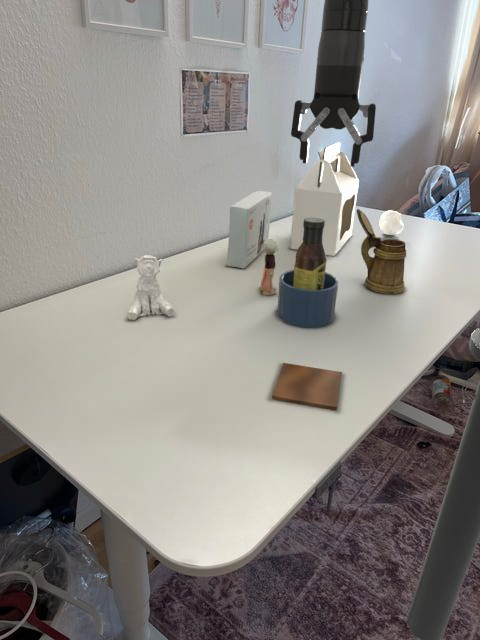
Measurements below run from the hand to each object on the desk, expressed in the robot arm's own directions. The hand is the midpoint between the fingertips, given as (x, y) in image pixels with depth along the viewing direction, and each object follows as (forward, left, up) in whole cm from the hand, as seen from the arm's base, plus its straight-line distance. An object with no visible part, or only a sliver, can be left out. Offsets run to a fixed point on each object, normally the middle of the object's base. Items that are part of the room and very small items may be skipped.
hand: (328, 164), depth 87 cm
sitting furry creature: (+33, +8, -31) cm, 46 cm away
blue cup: (+1, 0, -31) cm, 31 cm away
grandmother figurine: (+11, -9, -31) cm, 34 cm away
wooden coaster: (-3, +26, -31) cm, 41 cm away
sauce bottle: (+1, 0, -30) cm, 30 cm away
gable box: (+3, -51, -31) cm, 59 cm away
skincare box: (+21, -32, -31) cm, 49 cm away
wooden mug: (-13, -21, -31) cm, 39 cm away
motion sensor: (-17, -66, -31) cm, 74 cm away
